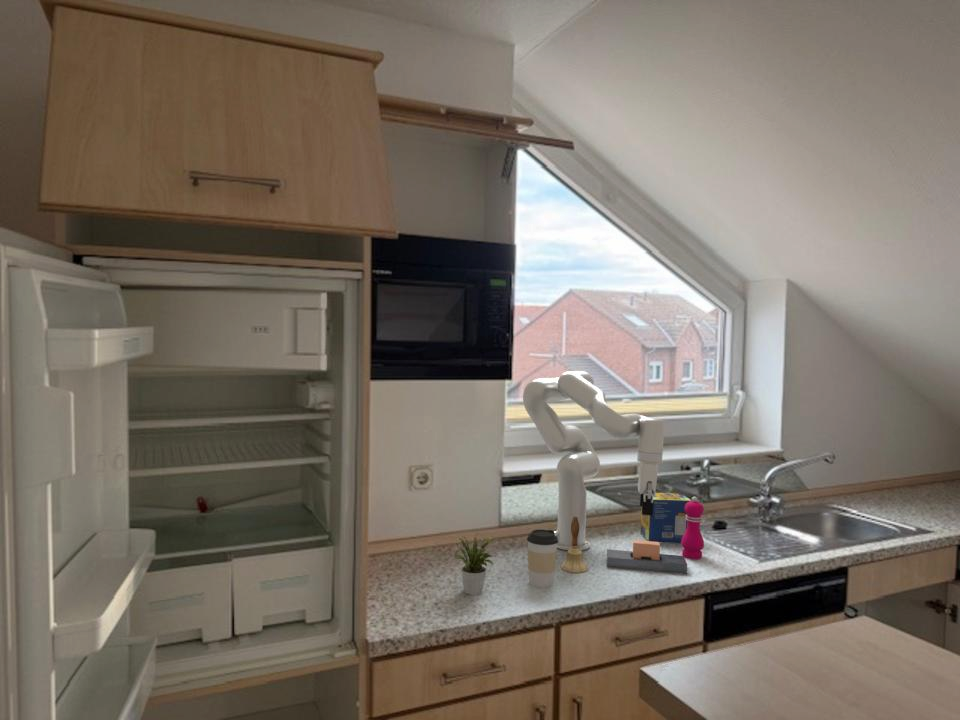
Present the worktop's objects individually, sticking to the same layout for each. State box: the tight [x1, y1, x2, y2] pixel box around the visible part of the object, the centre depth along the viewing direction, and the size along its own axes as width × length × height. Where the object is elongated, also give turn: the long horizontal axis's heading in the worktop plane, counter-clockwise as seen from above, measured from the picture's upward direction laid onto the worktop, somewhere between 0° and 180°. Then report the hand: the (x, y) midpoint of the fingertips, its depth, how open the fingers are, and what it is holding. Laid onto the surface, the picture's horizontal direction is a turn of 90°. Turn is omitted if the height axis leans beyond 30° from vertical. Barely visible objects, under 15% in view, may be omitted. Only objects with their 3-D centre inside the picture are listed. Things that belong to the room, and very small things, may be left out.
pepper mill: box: [680, 496, 705, 560], centre depth 216 cm, size 7×7×20 cm
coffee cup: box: [526, 529, 558, 588], centre depth 188 cm, size 9×9×15 cm
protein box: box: [639, 492, 692, 544], centre depth 235 cm, size 10×15×16 cm
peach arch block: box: [632, 539, 661, 560], centre depth 206 cm, size 8×3×8 cm, turn 80°
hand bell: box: [560, 517, 589, 574], centre depth 201 cm, size 8×8×16 cm
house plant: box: [446, 532, 494, 596], centre depth 180 cm, size 14×14×16 cm
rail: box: [606, 548, 688, 575], centre depth 206 cm, size 24×8×3 cm, turn 80°
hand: (646, 510), depth 205 cm, fingers open, 9 cm apart
